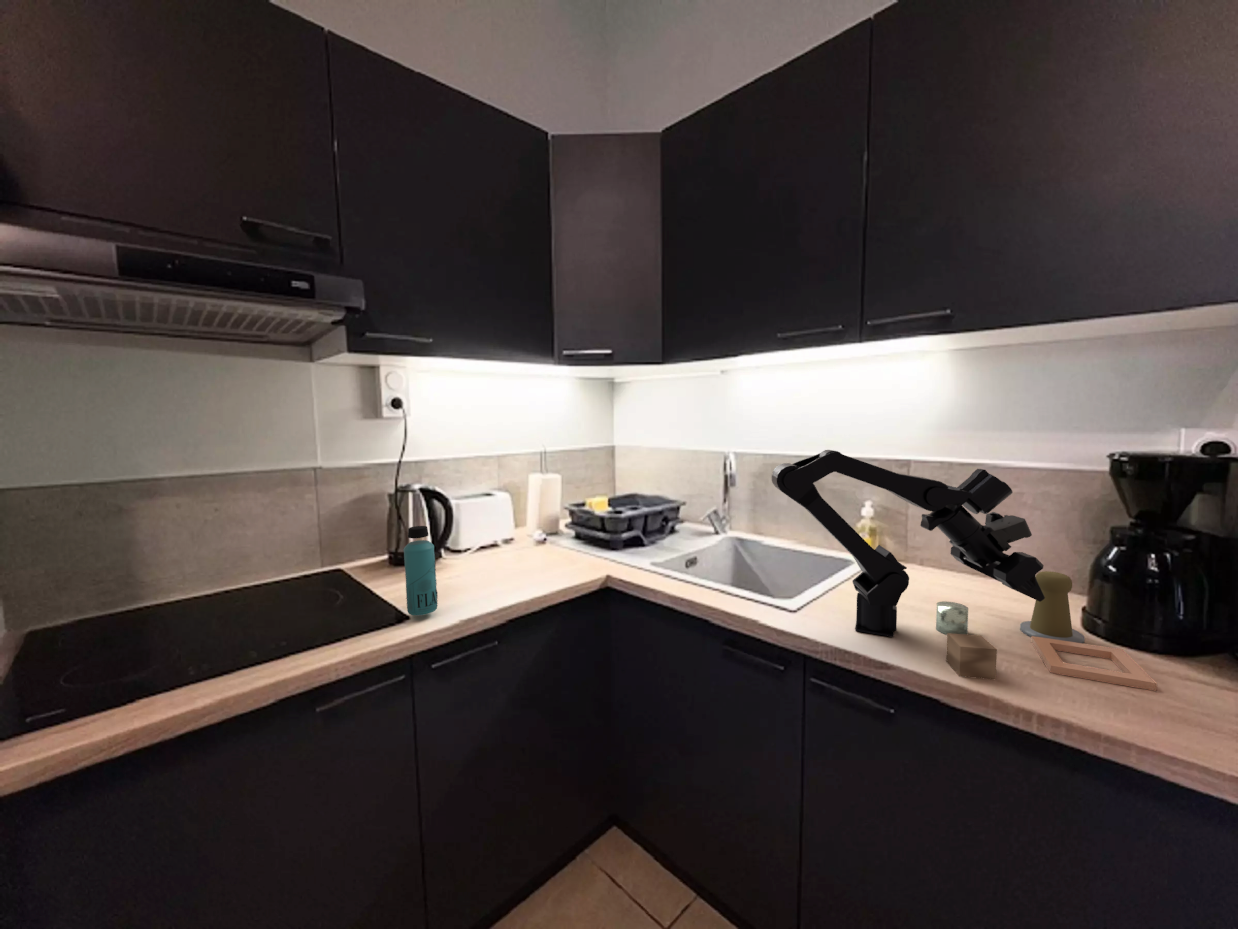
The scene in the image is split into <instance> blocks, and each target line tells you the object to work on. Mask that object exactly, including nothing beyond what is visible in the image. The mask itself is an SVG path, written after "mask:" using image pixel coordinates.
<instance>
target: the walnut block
mask: <svg viewBox="0 0 1238 929" xmlns="http://www.w3.org/2000/svg"><path fill="white" fill-rule="evenodd" d="M946 636H947V637H946V653H945V654H946V655H945V656H946V657H945V658H946V660H945V661H946V663H947V664H948V665H949V666H950V668H951V669H952V670H953V671H954V672H955V673H956V674H957V675H958V677H960V676H966V677H965V678H971V677H976V678H975V679H983V678H984V679H986V680H994V679H996V680H997V662H998V660H997V658H998V649H997V648H996V647H995V646H994V645H993V644H992V643H991V642H990V641H988V640H987V639H986V638H985V637H984V636H983V635H980V634H979V635H977V634H968V633H967V634H952V633H947V635H946Z"/></svg>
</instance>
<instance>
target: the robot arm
mask: <svg viewBox="0 0 1238 929" xmlns="http://www.w3.org/2000/svg"><path fill="white" fill-rule="evenodd" d="M832 473H836V474H840V475H844V476H846V477H849V478H851V479H855V480H857V481H859V482H860V481H861V482H863V483H867V484H869V485H872V486H875V487H877V488H881V489H884V490H886V491H887V492H890V493H891V494H893V495H894V496H896V497H897V498H899V499H901V500H902V501H904V502H907V503H908V504H910V505H912V506H914V507H916V508H920V509H922V510H926V511H928V512H930V513H926V514H924V513H922V514H921V521H920V525H919V526H920V527H921V528H923V529H925V530H927V531H929V532H932V531H933V530H935V529H936V528H938V529H939V530H940V532H942V533H943V535H944V536H945V537H947V538H948V539H949V541H948V543H949V544H951V547H950V555H951V556H952V557H953V558H954V559H955V560H956V561H957V562H959V563H961V564H963V565H965V566H966V567H968V568H970V569H972V570H975V571H977V572H979V573H980V574H984V575H985V576H986V577H987V576H988V577H990V578H991V579H993V580H995V581H998V582H1000V583H1001V584H1002V585H1003V586H1006V587H1007V588H1009V589H1011V590H1014V591H1015V592H1018V593H1020V594H1022V595H1023V596H1024V595H1025V596H1026V597H1029V598H1031V599H1033V600H1035V601H1036V600H1037V601H1039V602H1041V601H1042V600H1044V599H1045V597H1044V594H1043V592H1042V590H1041V588H1040V586H1039V584H1038V582H1037V580H1036V575H1037V574H1038V573H1039V572H1041V571H1042V570H1043V569H1044V564H1043V563H1042V562H1041V561H1040V560H1039V559H1038V558H1037V557H1035V556H1033V555H1031V554H1029V553H1026V552H1024V551H1013V552H1012V553H1011V554H1006V553H1004V552H1007V551H1008V550H1009V549H1011V548H1012V546H1011V545H1010V543H1014V542H1016V541H1020V540H1022V539H1027V538H1030V537H1032V536H1033V534H1032V532H1031V529H1030V527H1029V525H1028V522H1027V520H1026V518H1023V517H1020V516H1016V515H1008V514H1004V515H1002V514H1000V513H998V512H994V511H993V510H994V509H996V507H997V506H998V505H1000V504H1002V503H1003V502H1004V501H1005V500H1006V499H1007V498H1008V497H1011V495H1012V494H1013V490H1012V488H1011V487H1010V485H1009V484H1007V483H1006V482H1005V481H1003V480H1001V479H1000V478H998V477H997V476H995V475H993V474H991V473H990V472H988V471H987V470H986V469H982V468H977V469H975V470H974V471H973V472H972V473H971V474H970V476H969V477H967V479H965V480H964V481H962V482H961V483H960V484H959V485H958V486H957V487H956V486H952V485H947V484H946V483H944V482H943V481H939V480H936V479H935V480H934V479H930V478H927V477H923V476H916V475H912V474H911V475H909V474H904V473H898V472H895V471H891V470H888V469H885V468H883V467H879V466H877V465H874V464H872V463H871V464H870V463H868V462H865V461H863V460H860V459H857V458H854V457H851V456H849V455H845V454H843V453H841V452H840V451H838V450H834V449H833V450H832V449H824V450H823V451H821V452H819V453H817V454H814V455H813V456H809V457H806V458H804V459H801V460H798V461H796V462H794V463H790V462H789V463H787V462H783V463H780V464H778V465H776V467H775V468H774V469H773V471H772V473H771V483H772V485H773V486H774V487H775V488H776V489H777V490H779V491H780V492H782V493H783V494H784V495H786V496H787V497H788V498H790V499H791V500H793V501H794V502H796V503H797V504H799V506H802V507H803V508H804V509H805V510H806V511H807V512H808V513H810V514H811V516H812V517H813V518H814V519H815V520H816V521H817V522H818V523H819V524H820V525H821V526H822V527H823V528H824V529H825V530H826V531H827V532H828V533H829V534H830V535H831V536H832V537H833V539H835V540H836V541H837V543H839V544H840V545H841V546H842V547H843V548H844V549H845V550H846V551H847V552H848V553H849V554H850V555H851V556H852V557H853V559H854V561H855V562H856V564H857V566H858V568H859V569H860V570H861V572H860V573H859V574H858V575H857V576H856V577H855V578H854V579H852V584H853V587H854V589H855V591H856V592H857V593H856V619H855V627H854V630H855V631H856V632H859V633H867V634H872V635H876V636H877V635H878V636H883V637H891V638H894V633H895V632H896V631H897V624H898V623H897V622H898V621H897V620H898V618H897V616H898V608H897V605H898V603H899V601H900V599H901V596H902V594H903V593H905V591H906V590H907V589H908V587H909V585H910V584H909V583H910V576H909V574H908V573H907V572H906V569H908V568H907V566H905V564H902V563H901V562H899V561H898V560H897V558H896V556H895V555H894V554H893V553H892V552H891V551H890V550H888V549H887V548H885V547H883V546H881V545H880V544H878V545H877V546H876V548H873V547H872V546H871V545H870V544H869V543H868V542H867V541H866V540H865V539H864V538H863V537H862V536H861V535H860V534H859V533H858V532H857V531H856V530H855V528H853V527H852V526H851V525H850V524H849V523H848V522H847V521H846V520H845V519H844V517H842V516H841V515H840V514H839V513H838V512H837V511H836V510H835V509H834V508H833V507H832V506H831V505H830V504H829V503H828V502H827V501H826V500H825V499H824V498H823V497H822V496H821V494H820V492H819V491H818V489H817V486H816V485H815V484H814V483H816V482H818V481H820V480H822V479H823V478H825V477H827V476H828V475H830V474H832ZM970 512H971V513H973V514H975V515H978V514H979V513H981V514H982V515H983V514H984V515H985V522H984V525H983V524H981V523H980V521H978V520H977V519H976V517H975V516H974V515H973V514H971V513H970Z"/></svg>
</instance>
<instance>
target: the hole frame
mask: <svg viewBox="0 0 1238 929" xmlns="http://www.w3.org/2000/svg"><path fill="white" fill-rule="evenodd" d="M1030 643H1031V645H1032V646H1033V647H1034V649H1035V651H1036V653H1037V654H1038V656H1039V658H1040V659H1041V661H1042V662H1043V663H1044V665H1045V667H1046V669H1047V670H1048V672H1049V673H1051V674H1055V675H1063V676H1069V677H1075V678H1079V679H1086V680H1091V681H1098V682H1103V683H1109V684H1113V685H1120V686H1127V687H1132V688H1138V689H1143V690H1150V691H1155V692H1157V688H1158V687H1157V686H1158V685H1157V684H1158V683H1157V682H1156V681H1155V680H1154V679H1153V678H1152V677H1151V676H1150V674H1148V672H1146V670H1144V669H1143V668H1142V667H1141V665H1139V664H1138V663H1137V662H1136V661H1135V660H1134V659H1133V658H1132V656H1130V655H1129V654H1128V653H1127V652H1126V651H1125V650H1124V649H1122V648H1116V647H1108V646H1103V645H1101V646H1100V645H1095V644H1089V643H1088V644H1087V643H1076V642H1069V641H1062V640H1055V639H1049V638H1042V637H1035V636H1031V637H1030ZM1056 651H1058V652H1064V653H1072V654H1076V655H1077V654H1078V655H1084V656H1091V657H1096V658H1103V659H1110V660H1112V662H1113V663H1114V664H1115V665H1116V666H1117V667H1118V668H1119V669H1120V671H1118V670H1116V671H1115V670H1112V669H1111V670H1110V669H1104V668H1099V667H1098V668H1097V667H1092V666H1087V665H1081V664H1075V663H1068V662H1063V660H1062V658H1061V657H1060V655H1058V652H1056Z"/></svg>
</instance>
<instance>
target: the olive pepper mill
mask: <svg viewBox="0 0 1238 929" xmlns="http://www.w3.org/2000/svg"><path fill="white" fill-rule="evenodd" d="M1035 577H1036V580H1037V582H1038V584H1039V586H1040V588H1041V590H1042V592H1043V594H1044V597H1045V599H1044V600H1042V601H1041V602H1039V601H1037V600H1035V602H1034V603H1035V604H1034V607H1033V610H1032V611H1033V612H1032V615H1031V620H1030V621H1031V624H1030V628H1031V629H1032V630H1034V631H1036V632H1038V633H1041V634H1044V635H1048V636H1053V637H1061V638H1068V637H1072V636H1073V633H1072V629H1073V626H1072V618H1071V610H1070V602H1069V594H1068V593H1070V592H1071V590H1072V588H1073V581H1072V579H1071V577H1070V576H1069V575H1067V574H1065V573H1063V572H1057V571H1051V570H1048V571H1047V570H1045V571H1044V570H1043V571H1042V570H1041V571H1039V572H1038V573H1037V574H1036V575H1035Z"/></svg>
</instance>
